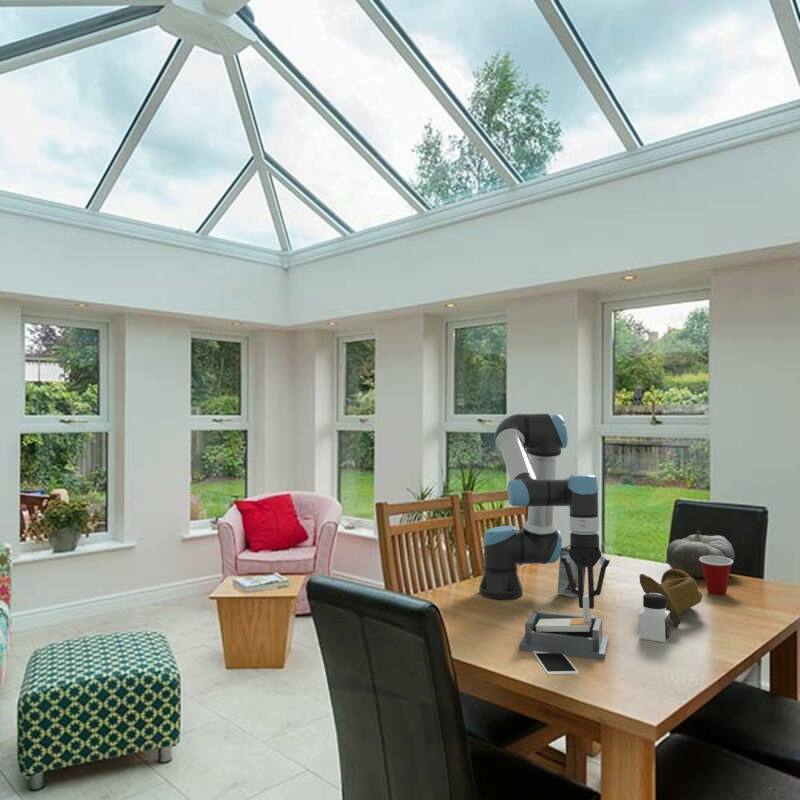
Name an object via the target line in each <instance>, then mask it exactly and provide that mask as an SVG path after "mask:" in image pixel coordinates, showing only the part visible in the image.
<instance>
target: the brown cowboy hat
mask: <svg viewBox="0 0 800 800" xmlns="http://www.w3.org/2000/svg"><path fill="white" fill-rule="evenodd" d="M638 578H639V584H640V586H641V589H642V590H643V592H644V593H645V594H648V593H657V594H661V595H663V596H665V597H666V610H667V611H670V621H672V624H673V626H674V627H679V626H680V625H681V623H682V622H681V618H680V617H681V616H680V615H681V614H682V613H684V612H685V611H687V610H689V609H691V608H693V607H695V606H696V605H698V604H700V603H701V602H702V600H703V595H702V593H701V591H699V589H698V584H697V582H696V580H695V578H694V577H693V576H691V575H689V574H687V573H686V572H684V571H682V570H680V569H673V568H670V569H667V570H666V571H665V572H663V574H662V577H661V580H660V583H659V582H658V581H656V580H655V579H653V578H652V577H650V576H649V575H647V574H645V573H641V574H639V577H638Z"/></svg>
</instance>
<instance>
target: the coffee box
mask: <svg viewBox="0 0 800 800" xmlns="http://www.w3.org/2000/svg"><path fill="white" fill-rule="evenodd" d="M570 548H571V546H570V544H569V545H567V546H566V545H565V546H564V547H562V548H561V554H560V557H559V564H558V565H559V567H558V577H557V579H558V580H557V589H556V590H557V594H558V595H561V596H565V597H568V598H569V597H570V598H576V597H577V596H578V595H577V594H573V593H572V592H571V588H570V584H569V580H568V577H567V573H566V569H565V566H564V565H563V563H562V562H561V558H562V557H563V556H566V555H568V554H569V551H570ZM570 560H571V562H570V565H571V569H572V572H573V576H574V580H575V584H576V587H577V589H578V567H577V565H576V564H575V563H574V561H573V560H572V559H571V558H570ZM586 568H587V567H583V578H584V584H585V583H586V582H585V581H586Z"/></svg>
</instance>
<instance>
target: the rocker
mask: <svg viewBox="0 0 800 800" xmlns="http://www.w3.org/2000/svg"><path fill="white" fill-rule="evenodd" d="M591 625H592V621H591V618H590V622H583V618H561V619H539V621H538V623H537V625H536V632H589V631H590V628H591Z"/></svg>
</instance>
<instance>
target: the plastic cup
mask: <svg viewBox="0 0 800 800" xmlns="http://www.w3.org/2000/svg"><path fill="white" fill-rule="evenodd" d="M699 560H700V561H701V564H702V567H703V572H704V582H705V586H706V591H707V593H708V594H709V595H715V596H724V595H726V594H727V590H728V584H729V578H730V572H731V568H732V566H733V563H734V561H733V560H732V559H729V558H726V557H722V556H703V557H700V559H699Z"/></svg>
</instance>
